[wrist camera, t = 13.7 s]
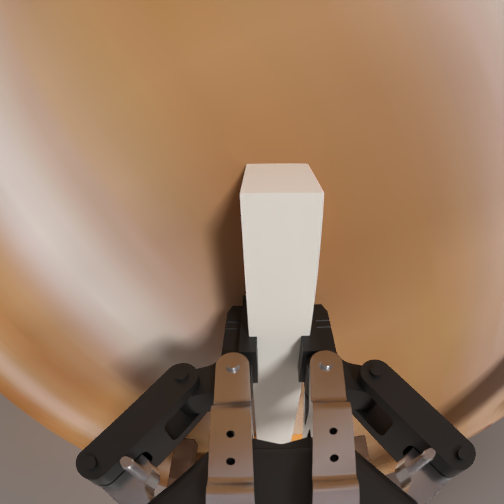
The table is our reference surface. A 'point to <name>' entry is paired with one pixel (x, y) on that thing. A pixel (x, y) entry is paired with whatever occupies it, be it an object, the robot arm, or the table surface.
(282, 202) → the long white slat
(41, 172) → the table surface
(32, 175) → the table surface
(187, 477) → the robot arm
